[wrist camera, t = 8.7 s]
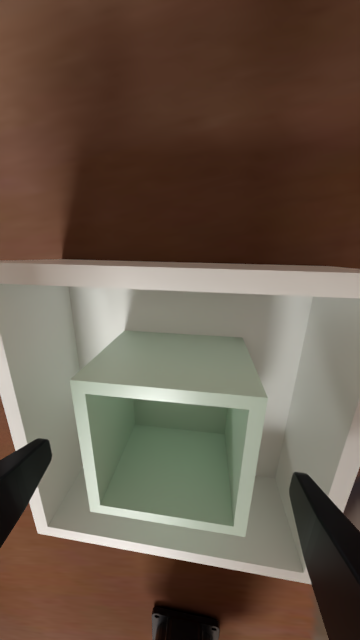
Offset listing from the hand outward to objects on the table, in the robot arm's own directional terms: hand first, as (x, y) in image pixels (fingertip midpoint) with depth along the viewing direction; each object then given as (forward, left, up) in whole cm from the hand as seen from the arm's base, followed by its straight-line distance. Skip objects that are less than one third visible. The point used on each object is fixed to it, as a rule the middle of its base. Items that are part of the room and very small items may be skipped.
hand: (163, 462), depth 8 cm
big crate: (0, 0, -6) cm, 6 cm away
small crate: (0, 0, -5) cm, 5 cm away
